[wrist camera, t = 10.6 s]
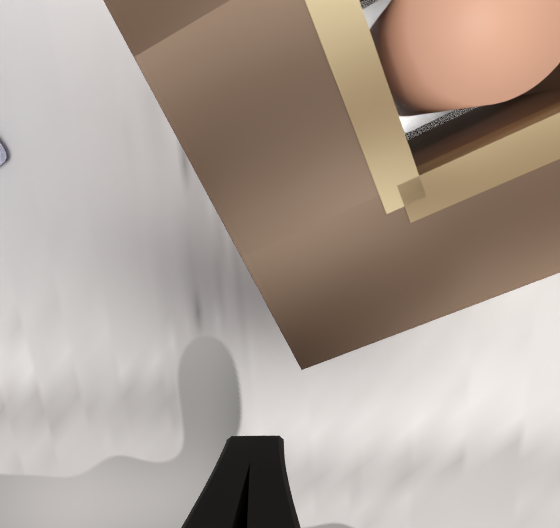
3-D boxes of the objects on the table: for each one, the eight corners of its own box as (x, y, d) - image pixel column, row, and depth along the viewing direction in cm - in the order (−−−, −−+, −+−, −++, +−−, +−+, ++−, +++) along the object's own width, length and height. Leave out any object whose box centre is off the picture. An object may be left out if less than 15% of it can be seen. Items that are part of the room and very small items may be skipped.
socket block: (147, -20, 14) (20, -154, 7) (582, -294, 11) (988, -889, 5) (298, 285, 18) (301, 370, 12) (642, 139, 15) (902, 144, 9)
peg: (344, 31, 14) (382, -41, 8) (448, -25, 13) (571, -149, 7) (381, 133, 15) (436, 134, 9) (478, 87, 14) (603, 56, 8)
